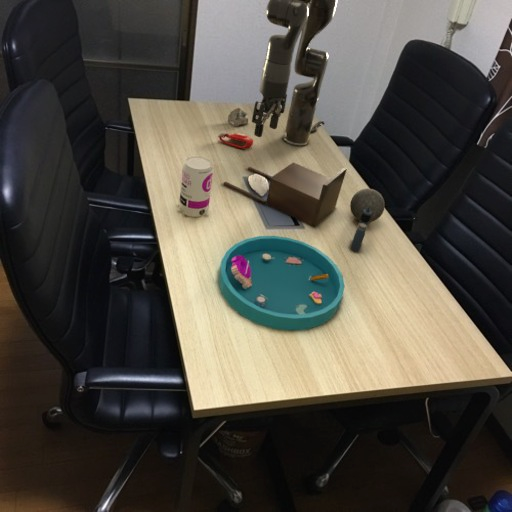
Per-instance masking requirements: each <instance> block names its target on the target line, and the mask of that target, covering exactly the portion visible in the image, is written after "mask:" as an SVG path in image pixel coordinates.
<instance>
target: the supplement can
mask: <svg viewBox="0 0 512 512" xmlns="http://www.w3.org/2000/svg"><path fill="white" fill-rule="evenodd" d="M213 175H214V167H213V165H212V162H211V161H210V160H209V159H208V158H206V157H203V156H198V155H197V156H196V155H195V156H190V157H187V158H186V159H185V161H184V163H183V164H182V167H181V177H180V190H179V191H180V192H179V204H178V207H179V210H180V212H181V213H183V215H186V216H188V217H191V218H197V217H198V218H199V217H203V216H204V215H206V214H207V213H209V209H210V200H211V192H212V184H213Z"/></svg>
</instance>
